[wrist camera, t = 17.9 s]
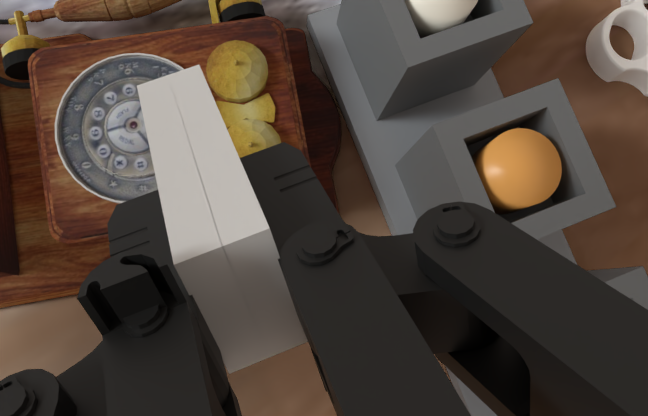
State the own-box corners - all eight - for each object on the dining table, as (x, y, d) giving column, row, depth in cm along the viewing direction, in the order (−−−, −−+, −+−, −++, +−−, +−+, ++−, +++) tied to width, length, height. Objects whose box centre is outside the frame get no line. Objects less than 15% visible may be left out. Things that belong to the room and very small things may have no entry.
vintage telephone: (-307, -43, 38) (320, -117, 43) (-168, 38, 50) (310, -26, 55) (-283, 347, 35) (389, 225, 40) (-142, 334, 47) (362, 242, 52)
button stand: (616, 382, 51) (743, 414, 37) (477, 445, 50) (556, 503, 36) (440, -21, 55) (496, -126, 41) (306, 25, 54) (318, -69, 40)
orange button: (546, 199, 43) (574, 189, 39) (482, 224, 42) (504, 217, 38) (517, 133, 43) (542, 117, 39) (454, 157, 43) (472, 143, 39)
